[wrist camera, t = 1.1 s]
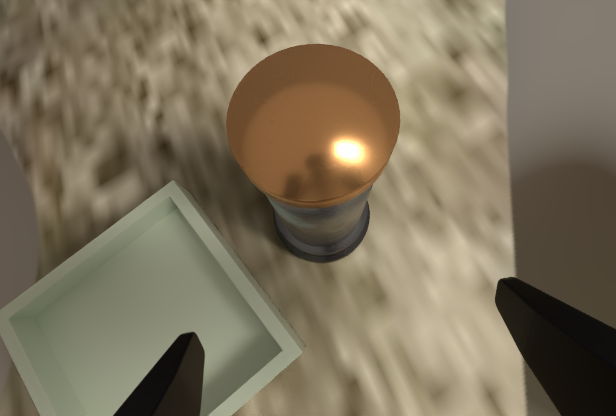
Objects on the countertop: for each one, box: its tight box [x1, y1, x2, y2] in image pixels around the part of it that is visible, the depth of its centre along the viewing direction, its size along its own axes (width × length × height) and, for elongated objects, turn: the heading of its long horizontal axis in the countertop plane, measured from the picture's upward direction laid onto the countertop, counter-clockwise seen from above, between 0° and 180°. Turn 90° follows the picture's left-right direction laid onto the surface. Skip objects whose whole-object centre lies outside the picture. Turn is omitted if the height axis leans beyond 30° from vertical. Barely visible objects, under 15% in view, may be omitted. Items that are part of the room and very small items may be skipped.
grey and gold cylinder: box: [226, 44, 400, 257], centre depth 16 cm, size 6×6×12 cm
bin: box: [0, 180, 306, 416], centre depth 21 cm, size 14×14×2 cm
